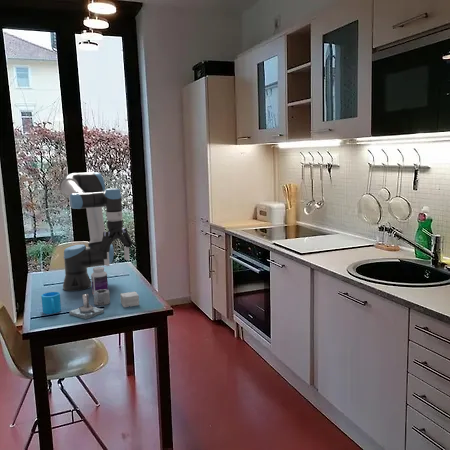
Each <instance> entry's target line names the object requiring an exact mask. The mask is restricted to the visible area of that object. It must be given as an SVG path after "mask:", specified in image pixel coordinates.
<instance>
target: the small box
mask: <svg viewBox="0 0 450 450" xmlns="http://www.w3.org/2000/svg"><path fill="white" fill-rule="evenodd" d="M119 296H120V304H121V305H122V307H123V308H128V307H129V306H130V307H134V306H135V307H136V306H140V295H139V294H138V293H137V292H136V291H129V292H124V293H123V292H122V293H120V295H119Z"/></svg>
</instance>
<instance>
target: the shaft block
mask: <svg viewBox="0 0 450 450" xmlns="http://www.w3.org/2000/svg"><path fill="white" fill-rule="evenodd" d="M89 297H90V296H89V293H84V294H82V304H83V305H81V306H80V307H78V308H76V309H73V310H69V311H68V312H69V313H68V314H69V315H70V316H74V317H78V318H81V319H84V320H88V319H91V318H93V317H96V316H99V315H101V313H102V314H104V313H105V309H103V308H100V307H96V306H95V307H94V305H91V304H90V299H89Z"/></svg>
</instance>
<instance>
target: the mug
mask: <svg viewBox="0 0 450 450" xmlns="http://www.w3.org/2000/svg"><path fill="white" fill-rule="evenodd" d="M40 296H41V305H42V306H41V308H42V313H43V314H46V315H51V314H53V315H54V314H57V313H60V312H61V311H62V304H61V303H62V302H61V292H58V291H48V292H45V293H43V294H41V295H40Z"/></svg>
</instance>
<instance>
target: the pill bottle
mask: <svg viewBox="0 0 450 450" xmlns="http://www.w3.org/2000/svg"><path fill="white" fill-rule="evenodd" d="M92 271H93V272H92V273H91V274H90V280H91V285H92V286H91V291H92V292H91V293H92V296H94V291H96V290H100V289H107V290H109V284H108V274H107V271H105V267H104V266H95V267H92Z"/></svg>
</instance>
